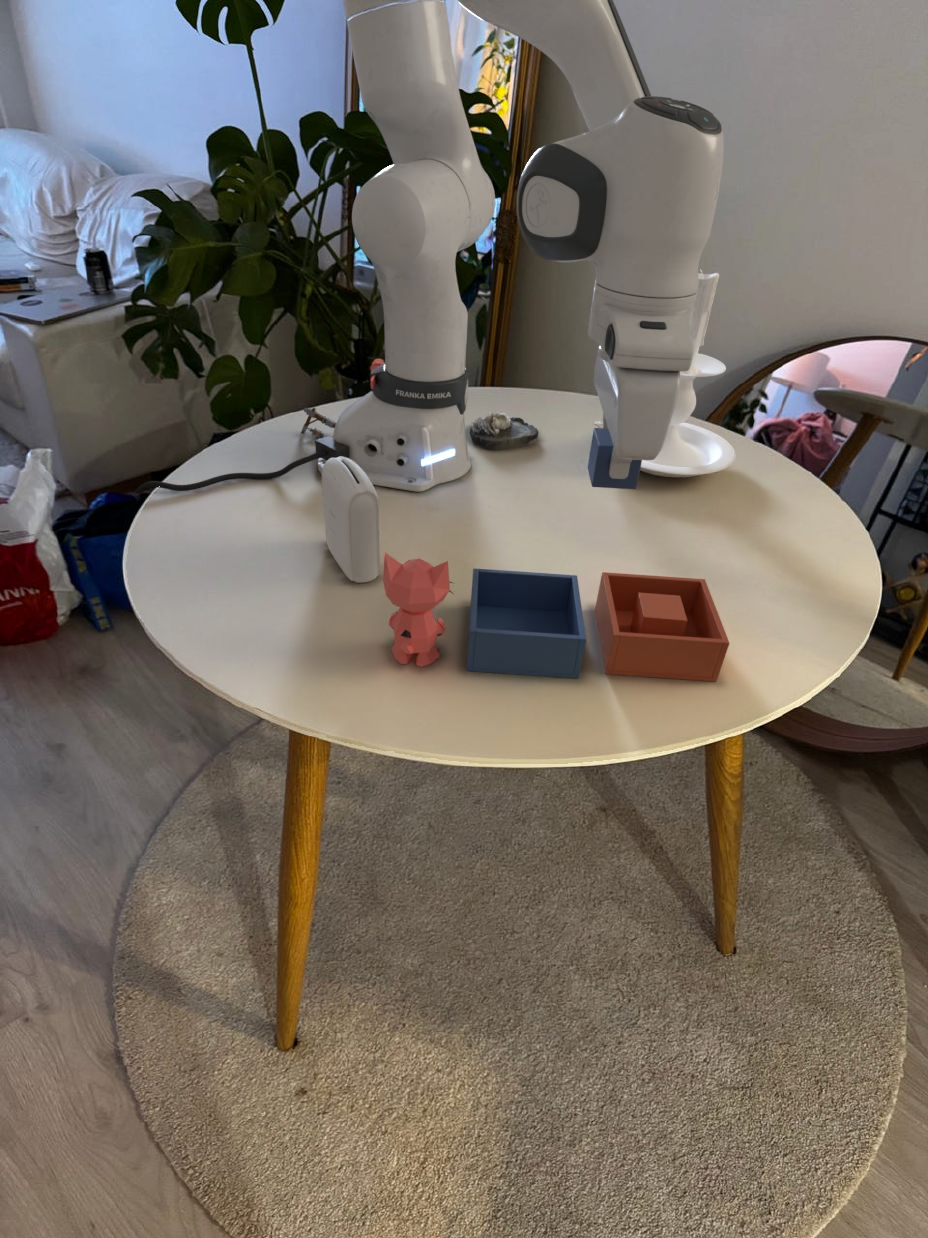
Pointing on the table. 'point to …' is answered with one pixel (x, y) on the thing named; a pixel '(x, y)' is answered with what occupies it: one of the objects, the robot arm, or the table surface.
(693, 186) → the robot arm
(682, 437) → the candlestick
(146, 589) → the table surface
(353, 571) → the photo printer
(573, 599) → the slate bin
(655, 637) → the terracotta bin
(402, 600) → the cat figurine
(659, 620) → the terracotta block
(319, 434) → the wooden post with brackets
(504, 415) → the shell on grey dish
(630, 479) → the slate block
